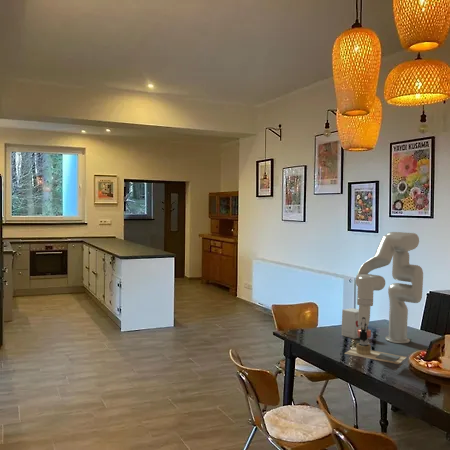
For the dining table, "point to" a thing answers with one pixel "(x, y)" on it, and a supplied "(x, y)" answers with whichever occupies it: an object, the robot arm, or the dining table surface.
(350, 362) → the dining table surface
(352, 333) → the supplement box
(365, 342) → the peg
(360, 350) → the board
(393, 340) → the robot arm
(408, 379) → the dining table surface
